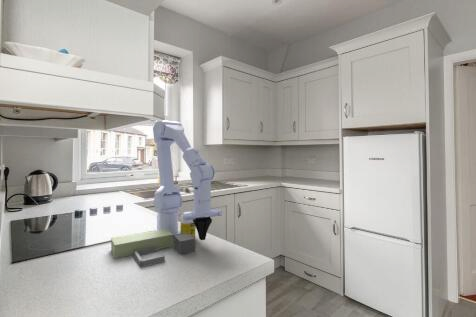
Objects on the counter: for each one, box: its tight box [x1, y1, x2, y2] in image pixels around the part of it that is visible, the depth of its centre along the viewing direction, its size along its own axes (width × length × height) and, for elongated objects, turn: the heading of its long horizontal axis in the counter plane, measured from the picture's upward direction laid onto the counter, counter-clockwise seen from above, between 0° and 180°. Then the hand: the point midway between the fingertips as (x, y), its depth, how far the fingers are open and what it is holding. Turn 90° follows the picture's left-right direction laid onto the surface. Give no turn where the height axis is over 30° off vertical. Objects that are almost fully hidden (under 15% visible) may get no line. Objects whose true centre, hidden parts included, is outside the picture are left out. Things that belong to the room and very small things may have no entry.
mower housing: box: [110, 229, 174, 268], centre depth 80 cm, size 18×18×4 cm
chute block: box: [173, 233, 196, 256], centre depth 83 cm, size 6×5×4 cm
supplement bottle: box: [179, 211, 196, 239], centre depth 93 cm, size 5×5×10 cm
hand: (202, 239), depth 86 cm, fingers closed
